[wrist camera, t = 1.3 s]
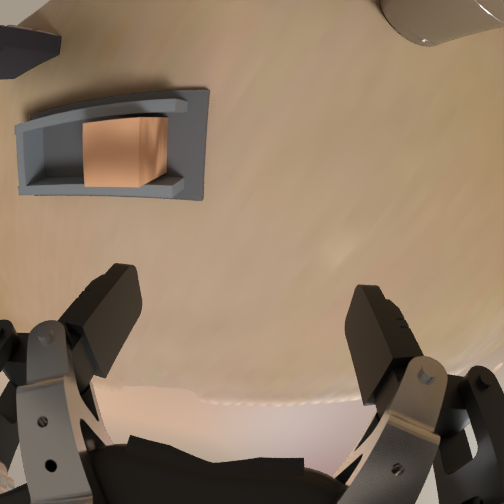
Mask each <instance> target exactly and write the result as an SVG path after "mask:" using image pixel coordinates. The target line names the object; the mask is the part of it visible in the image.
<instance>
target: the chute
mask: <svg viewBox="0 0 504 504" xmlns="http://www.w3.org/2000/svg"><path fill="white" fill-rule="evenodd" d="M209 95H210V90H171V91H155V92H143V93H134V94H125V95H117V96H110V97H104V98H98V99H92V100H87V101H82V102H77V103H72V104H68V105H63V106H59V107H55V108H51V109H48V110H44V111H40V112H37V113H33V114H31V119H30V121H28V122H24V123H21V124H18V125H15V134H16V144H17V164H18V177H19V186H18V191H19V195H34V196H53V195H66V196H118V197H143V198H163V199H180V200H194V201H202V200H203V197H204V171H205V151H206V135H207V120H208V107H209ZM136 117H167V118H168V139H167V173H165V174H163V175H161V176H159V177H157V178H155V179H154V180H152V181H150V182H148V183H146V184H144V185H143V186H141V187H139V188H137V187H85V184H84V168H83V123H89V122H96V121H104V120H113V119H124V118H136Z"/></svg>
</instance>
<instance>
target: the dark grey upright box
mask: <svg viewBox="0 0 504 504" xmlns="http://www.w3.org/2000/svg"><path fill="white" fill-rule="evenodd" d="M60 43H61V37H60V36H57V34H56V33H51V32H47V31H42V30H34V31H33V29H32V28H27V27H21V26H14V25H8V26H4V25H0V79H15V78H16V77H18V76H20V75H21V74H23V73H25V72H27V71H28V70H30V69H32V68H34V67H36V66H37V65H39V64H41V63H43V62H45V61H47V60H49V59H51V58H53V57H55V56H57V55H59V51H60Z"/></svg>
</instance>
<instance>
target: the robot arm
mask: <svg viewBox="0 0 504 504" xmlns="http://www.w3.org/2000/svg"><path fill="white" fill-rule="evenodd" d="M380 4H381V8H382V11H383V13H384V15H385V17H386V18H387V20H388V21H389V23H390V24H391V25H392V26H393V27H394V28H395V30H397V31H398V32H399V33H400V34H401V35H402V36H404V37H405V38H407V39H408V40H410V41H412V42H414V43H416V44H419V45H422V46H435V45H438V44H441V43H444V42H447V41H451V40H454V39H458V38H461V37H464V36H468V35H472V34H475V33H479V32H483V31H488V30H492V29H496V28H501V27H504V0H380ZM141 310H142V297H141V292H140V286H139V281H138V275H137V270H136V267H135V266H134V265H128V264H119V263H115V264H114V265H113V266H112V267H111V268H110V269H109V270H108V271H107V272H106V273H105V274H104V275H101V276H99V277H98V278H96V279H94V280H93V281H92V282H91V283H90V284H89V285H88V286H87V287H86V288H85V291H83V292H82V293H81V294H80V295H79V298H76V300H75V301H74V302H73V303H72V304H71V305H70V307H69V308H68V309H67V310H66V311H65V312H64V314H63V315H62V316H61V317H60V319H59V320H58V321H55V320H49V321H44V322H42V323H40V324H38V325H37V326H35V327H34V328H33V329H32V330H31V332H30V333H17V332H16V330H15V328H14V326H13V324H12V323H11V322H10V321H9V320H0V372H1V371H3V372H4V373H5V375H6V376H7V377H8V379H9V380H10V381H9V382H8V384H7V386H6V388H5V389H4V391H3V393H2V395H1V396H0V504H415V502H416V500H417V498H418V496H419V494H420V492H421V490H422V487H423V485H424V483H425V480H426V478H427V476H428V473H429V471H430V468H431V466H432V463H433V468H434V473H435V478H436V485H437V491H438V498H439V504H504V393H503V391H502V389H501V387H500V385H499V383H498V380H497V379H496V377H495V375H494V374H493V373H492V372H491V371H490V370H489V369H487V368H485V367H483V366H474V367H472V368H471V369H470V370H469V371H468V373H467V374H466V376H465V377H461V376H455V375H449V374H447V372H446V370H445V369H444V367H443V366H442V365H441V364H440V363H439V362H438V361H437V360H435V359H433V358H430V357H427V356H424V355H423V353H422V351H421V349H420V347H419V345H418V343H417V341H416V339H415V337H414V335H413V333H412V331H411V329H410V328H409V326H408V324H407V322H406V320H404V316H403V315H402V313H401V311H400V309H399V308H398V307H397V306H396V305H395V304H394V303H393V302H392V301H390V300H388V299H385V297H384V295H383V293H382V291H381V290H380V288H379V286H377V285H357V286H356V288H355V291H354V294H353V298H352V301H351V304H350V307H349V310H348V313H347V316H346V320H345V335H346V339H347V342H348V346H349V350H350V353H351V357H352V361H353V365H354V368H355V372H356V376H357V380H358V384H359V388H360V392H361V397H362V401H363V405H364V406H367V405H376V408H377V411H376V412H375V414H374V415H373V417H372V419H371V421H370V423H369V424H368V426H367V428H366V429H365V431H364V433H363V434H362V436H361V438H360V439H359V441H358V443H357V444H356V446H355V448H354V449H353V451H352V452H351V453H350V455H349V456H348V458H347V459H346V460H345V461H344V463H343V464H342V465H341V466H340V467H339V469H338V470H337V471H336V472H335V474H334V475H333V476H332V477H331V476H329V475H327V474H325V473H322V472H320V471H317V470H313V469H310V468H305V467H304V458H262V457H261V458H260V457H259V458H253V459H247V460H238V461H230V462H220V463H212V462H208V461H205V460H202V459H200V458H198V457H195V456H193V455H190V454H188V453H186V452H183V451H181V450H178V449H176V448H174V447H172V446H170V445H166V444H162V443H158V442H154V441H150V440H146V439H142V438H139V437H135V436H132V435H130V437H129V440H128V443H127V444H113V442H112V440H111V438H110V436H109V435H108V433H107V431H106V429H105V426H104V423H103V420H102V417H101V414H100V410H99V407H98V403H97V399H96V396H95V392H94V388H93V384H92V382H91V379H92V377H93V375H96V376H99V377H103V378H106V376H107V374H108V372H109V371H110V369H111V367H112V365H113V363H114V361H115V359H116V357H117V355H118V354H119V352H120V350H121V348H122V346H123V344H124V342H125V341H126V339H127V337H128V335H129V333H130V332H131V330H132V328H133V326H134V325H135V323H136V321H137V319H138V318H139V316H140V314H141ZM470 422H471V425H472V428H473V431H474V434H475V437H476V441H477V444H478V451H477V454H476V456H475V457H474V459H473V458H472V454H471V450H470V447H469V443H468V440H467V437H466V433H465V430H464V428H465V427H466V426H467V425H468V424H469V423H470ZM19 442H20V448H21V455H22V461H23V467H24V472H25V476H26V481H27V483H26V484H24V485H21V486H19V487H17V488H14V482H13V480H12V479H11V478H10V477H9V476H8V470H9V467H10V464H11V462H12V459H13V456H14V454H15V451H16V449H17V446H18V444H19Z"/></svg>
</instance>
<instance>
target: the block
mask: <svg viewBox="0 0 504 504" xmlns="http://www.w3.org/2000/svg"><path fill="white" fill-rule="evenodd" d="M167 139H168V118H167V117H136V118H124V119H113V120H104V121H96V122H89V123H83V168H84V184H85V187H137V188H139V187H141V186H143V185H144V184H146V183H148V182H150V181H152V180H154V179H155V178H157V177H159V176H161V175H163V174H165V173H167Z"/></svg>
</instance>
